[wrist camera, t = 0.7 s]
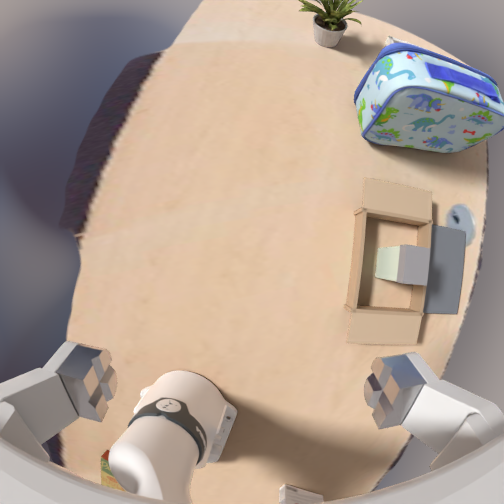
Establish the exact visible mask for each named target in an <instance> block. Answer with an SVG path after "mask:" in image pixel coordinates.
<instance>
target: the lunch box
mask: <svg viewBox="0 0 504 504" xmlns="http://www.w3.org/2000/svg"><path fill="white" fill-rule="evenodd" d="M354 103H355V105H356V108H357V114H358V119H359V124H360V130H361V135H362V137H363V138H364V139H365V140H367V141H369V142H372V143H375V144H380V145H391V146H401V147H409V148H416V149H421V150H428V151H434V152H441V153H452V152H460V151H462V150H464V149H467V148H470V147H472V146H474V145H476V144H478V143H480V142H482V141H484V140H486V139H488V138H490V137H492V136H494V135H496V134H497V133H499V132H500V131H502V130H503V129H504V103H503V100H502V98H501V95H500V92H499V89H498V86H497V83H496V81H495V80H494V79H493V78H492V77H490V76H489V75H487V74H485V73H483V72H481V71H479V70H477V69H474V68H472V67H469V66H467V65H465V64H462V63H460V62H458V61H455V60H453V59H451V58H448V57H445V56H443V55H440V54H437V53H434V52H432V51H429V50H426V49H423V48H421V47H418V46H415V45H412V44H407V43H392V44H390V45H388V46H386V47H385V48H383V49H382V51H381V52H380V54H379V55H378V57H377V58H376V60H375V61H374V63H373V64H372V66H371V67H370V68H369V70H368V71H367V73H366V74H365V76H364V77H363V79H362V80H361V82H360V84H359V86H358V87H357V89H356V91H355V94H354Z"/></svg>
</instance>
